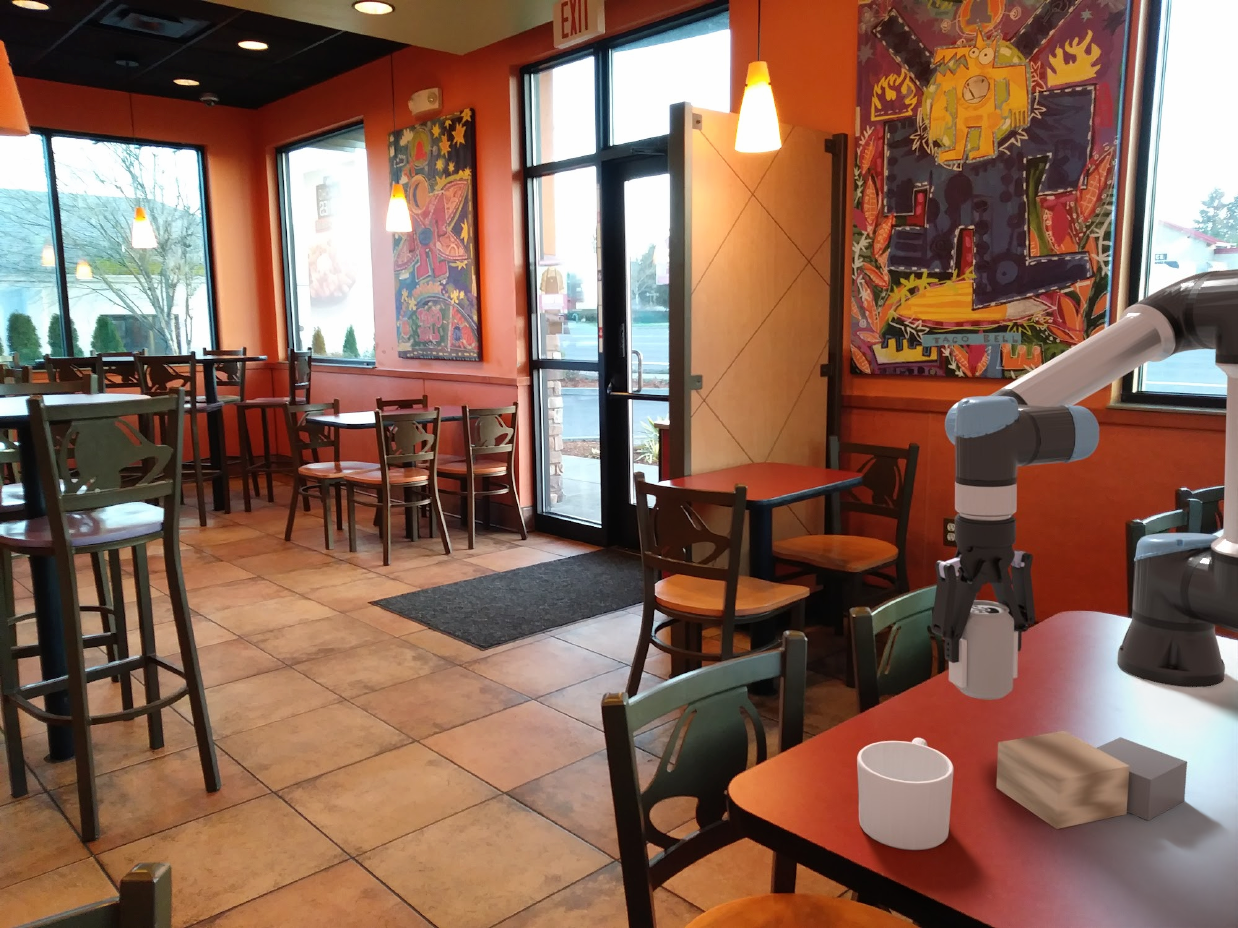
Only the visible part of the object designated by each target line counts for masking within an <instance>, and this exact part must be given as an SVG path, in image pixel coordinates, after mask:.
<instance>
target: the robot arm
mask: <svg viewBox="0 0 1238 928" xmlns="http://www.w3.org/2000/svg"><path fill="white" fill-rule="evenodd" d="M1196 350H1214V353H1215V354H1214V355H1215V356H1214V357H1215V361H1214V362H1215V366H1217V368H1219V369H1220V370H1221V372H1224V373H1225V375H1226V376H1227V378H1226V379H1227V381H1226V383H1227V384H1226V413H1225V415H1226V417H1225V418H1226V420H1225V450H1224V451H1225V453H1224V454H1225V455H1224V456H1225V459H1224V462H1225V463H1224V492H1223V493H1224V497H1223V499H1224V501H1223V502H1224V503H1223V529H1222V530H1223V533H1222V534H1221V536H1217V535H1215V534H1209V533H1200V532H1199V533H1198V532H1167V533H1166V532H1165V533H1162V532H1161V533H1154V534H1153V533H1151V534H1148V535H1147V534H1146V535H1144V536H1141V537H1140V539H1139V540H1138V541H1137V544H1136V549H1135V550H1136V551H1135V557H1134V559H1133V560H1134V561H1133V563H1134V565H1133V590H1132V613H1131V622H1130V623H1129V625H1128V628H1127V631H1126V632H1125V635H1124V637H1123V639H1122V643H1121V645H1120V646H1119V647H1118V650H1117V661H1116V663H1117V665H1118V667H1119V668H1120V670H1122V671H1124V672H1125V673H1127V674H1129V675H1131V676H1133V677H1136V678H1139V679H1142V680H1144V681H1148V682H1151V683H1157V684H1162V685H1165V686H1166V685H1167V686H1173V687H1181V688H1182V687H1183V688H1207V687H1214V686H1219V684H1220V685H1221V684H1222V683H1223V682H1224V680H1225V673H1226V665H1225V662H1224V660H1223V659H1222V656H1221V650H1220V647H1219V643H1218V640H1217V639H1218V638H1217V635H1216V630H1215V628H1216V626H1217V627H1220V628H1224V629H1226V630H1229V631H1232V632H1234V633H1238V268H1236V269H1235V268H1234V269H1225V270H1224V269H1223V270H1212V271H1211V270H1210V271H1204V272H1199V273H1196V274H1193V275H1190V276H1188V277H1185V278H1182V279H1180V280H1178V281H1175V282H1174V283H1171V284H1170V285H1167V286H1165V287H1163V288H1161V289H1159V290H1157V291H1155V292H1153V293H1152V294H1150V295H1148V296H1146V297H1144V298H1142V299H1141V300H1139V301H1137V302H1135V303H1134V304H1132V305H1130V306H1128V307H1127V308H1126V309H1124V310H1123V311H1122V312H1121V314H1120V316H1119V320H1118V321H1115V322H1114V323H1113V324H1111V325H1109V326H1107V327H1105V328H1104V329H1101V330H1100V331H1099V332H1097V333H1095V334H1093V335H1092V336H1090V337H1088V338H1087V339H1085V340H1083V341H1082V342H1080V343H1078V344H1076V345H1074V346H1073V347H1070V349H1068V350H1065V351H1064V352H1063V353H1060V354H1058V355H1057V356H1055V357H1054V358H1052V359H1051V360H1049V361H1047V362H1045V363H1044V364H1042V365H1040V366H1038V367H1037V368H1035V369H1034V370H1031V371H1030V372H1028V373H1027V374H1024V375H1022V376H1021V377H1019V378H1017V379H1016V380H1014V381H1012V382H1011V383H1009V384H1007V385H1005V386H1003V387H1002V388H1000V389H999V390H997V391H995V392H993V393H992V394H989V395H986V396H985V395H984V396H983V395H982V396H981V395H980V396H969V397H963V398H962V399H961V400H960V401H958V402H956V403H955V404H953V406H952V407H951V408H950V409H949V410H948V412H947V414H946V415H945V416H946V417H945V420H944V430H945V433H946V436H947V438H948V440H949V441H950V443H952V444H953V445H954V458H955V460H954V462H955V463H954V465H955V466H954V469H955V470H954V471H955V472H954V473H955V474H954V475H955V478H954V479H955V482H954V510H955V511H956V512H957V514H956V515H955V516H954V540H955V543H956V546H957V549H956V552H955V553H954V556H953V558H952V559H948V560H946V561H943V560H941V559H940V560H937V561H936V562H935V565H934V566H935V570H936V571H935V572H936V578H937V579H936V585H935V587H936V589H935V596H934V604H933V611H932V617H931V619H932V620H931V627H930V629H931V632H932V633H934V634H936V635H938V636H940V637H942V638H944V657H945V660H947V662H948V682H950V683H952V684H953V685H954V684H956V685H958V686H959V687H961V688H964V687H967V640H966V639H964V638H961V637H962V634H963V632H964V629H965V626H966V623H967V620H968V617H969V614H970V611H971V608H972V605H973V602H974V601H975V600H976V597H977V594H978V593H980V592H981V590H982V587H983V586H984V585H987V584H990V585H991V587H992V590H993V593H994V596H995V598H996V601H997V603H1001V604H1003V605H1005V606H1007V607H1008V608H1009V612H1008V613H1009V614H1010V615H1011V616H1012V617H1013V619H1014V654H1013V679H1017V678H1018V665H1019V664H1018V663H1019V659H1018V656H1019V655H1018V653H1019V652H1021V651H1022V640H1023V637H1022V633H1026V632H1027V631H1028V630H1029V625H1028V624H1034V623H1035V621H1036V611H1035V600H1034V591H1033V589H1034V588H1033V581H1032V580H1033V579H1032V571H1031V570H1032V566H1033V565H1032V564H1033V560H1034V555H1033V554H1032V553H1029V552H1026V551H1024V550H1020V549H1014V547H1013V545H1014V544H1015V543H1016V539H1017V537H1016V535H1017V533H1016V532H1017V519H1016V517H1015V516H1014V515H1013V514H1015V513H1016V512H1017V501H1018V500H1017V497H1018V496H1017V495H1018V494H1017V493H1018V492H1017V491H1018V489H1017V487H1018V485H1017V482H1018V467H1025V466H1034V465H1035V466H1036V465H1048V464H1057V463H1058V464H1060V463H1063V464H1069V463H1071V462H1075V461H1080V460H1084V459H1086V458H1089V457H1090V456H1091V455H1092V454H1093V453H1094V452H1095V450H1096V449H1097V447H1098V445H1099V441H1100V426H1099V422H1098V420H1097V418H1096V416H1095V415H1094V414H1093V412H1092V411H1090V409H1088V408H1087V407H1084V406H1082V405H1076V404H1078V403H1079V402H1081V401H1082V400H1083V401H1084V400H1085V399H1086V398H1088V397H1089V396H1092V395H1093V394H1095V393H1097V392H1098V391H1100V390H1102V389H1103V388H1105V387H1107V386H1108V385H1110V384H1112V383H1113V382H1115V381H1117V380H1119V379H1120V378H1122V377H1124V376H1126V375H1127V374H1128V373H1131V372H1132V371H1134V370H1136V369H1138V368H1139V367H1141V366H1143V365H1144V364H1146V363H1147V362H1149V363H1150V362H1151V363H1153V362H1154V363H1157V362H1159V363H1160V362H1162V361H1164V360H1167V359H1168V358H1170V357H1171V356H1173V355H1175V354H1179V353H1183V352H1188V351H1196ZM1009 568H1010V572H1009ZM958 570H959V571H958Z"/></svg>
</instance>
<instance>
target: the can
mask: <svg viewBox="0 0 1238 928" xmlns="http://www.w3.org/2000/svg"><path fill="white" fill-rule="evenodd" d="M1008 612H1009V608H1008V607H1007V606H1005V605H1003V604H1001V603H998V602H996V601H990V600H978V599H977V600H976V599H975V600H974V602H973V605H972V608H971V611H970V614H969V617H968V620H967V623H966V626H965V629H964V632H963V634H962V637H961V638H964V639H966V640H967V687H964V688H961V687H959V686H958V685H956V684H954V683H953V685H954V686H955V687H956V688H957V689H958V690H959V691H960V692H961V693H962V694H964V695H965V696H967V697H970V698H975V699H979V700H987V701H988V700H989V701H991V700H998V699H1002V698H1004V697H1006V696H1007V695H1008V694H1009V693H1011V692H1012V691H1013V689H1014V678H1013V654H1014V619H1013V617H1012V616H1011V615H1010V614H1009V613H1008Z"/></svg>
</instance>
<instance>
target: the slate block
mask: <svg viewBox="0 0 1238 928" xmlns="http://www.w3.org/2000/svg"><path fill="white" fill-rule="evenodd" d="M1096 748H1097V749H1099V750H1101V751H1103V752H1105V753H1106V754H1108V755H1110V756H1112V757H1114V758H1116V759H1118V760H1119V761H1121V762H1123V763H1125V764H1127V765H1129V781H1128V798H1127V813H1130V814H1132V815H1134V816H1137V817H1139V818H1141V819H1144V820H1146V821H1151V820H1152V819H1153V818H1155V817H1157V816H1159V815H1161V814H1163V813H1165V812H1167V811H1168V810H1170V809H1172V808H1174V807H1175V806H1178V805H1180V804H1182V803H1183V802H1184V801H1185V799H1186V798H1185V797H1186V783H1187V768H1188V761H1187V760H1184V759H1180V758H1178V757H1175V756H1173V755H1170V754H1168V753H1165V752H1162V751H1159V750H1156V749H1154V748H1152V747H1148V746H1145V745H1142V744H1140V743H1138V742H1134V741H1131V740H1130V739H1126V738H1123V737H1122V736H1121V737H1118V738H1115V739H1113V740H1110V741H1109V742H1107V743H1104V744H1102V745H1099V746H1098V747H1096Z"/></svg>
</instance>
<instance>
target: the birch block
mask: <svg viewBox="0 0 1238 928" xmlns="http://www.w3.org/2000/svg"><path fill="white" fill-rule="evenodd" d="M996 763H997V764H996V765H997V767H996V787H995V788H996V789H998V790H999V791H1000V792H1002V793H1003V794H1004V795H1006V796H1008V797H1010V798H1011V799H1012V800H1014V801H1015V802H1017V803H1018V804H1019V805H1021V806H1022V807H1024V808H1026V809H1027V810H1028V811H1030V812H1031V813H1033V814H1034V815H1036V816H1037V817H1038V818H1040V819H1041V820H1043V821H1044V822H1046V823H1047V824H1049V825H1050V826H1051V827H1053V829H1056V830H1057V829H1058V830H1059V829H1063V828H1067V827H1072V826H1077V825H1082V824H1087V823H1091V822H1095V821H1100V820H1106V819H1110V818H1114V817H1119V816H1120V817H1121V816H1124V815H1127V813H1128V812H1127V798H1128V781H1129V765H1127V764H1125V763H1123V762H1121V761H1119V760H1118V759H1116V758H1114V757H1112V756H1110V755H1108V754H1106V753H1105V752H1103V751H1101V750H1099V749H1097V747H1096V746H1093V745H1092V744H1090V743H1087V742H1086V741H1084V740H1082V739H1080V738H1079V737H1077V736H1075V735H1073V734H1071V733H1069V732H1068V731H1065V730H1060V731H1055V732H1049V733H1043V734H1039V735H1033V736H1027V737H1020V738H1015V739H1009V740H1003V741H999V742H997V762H996Z"/></svg>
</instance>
